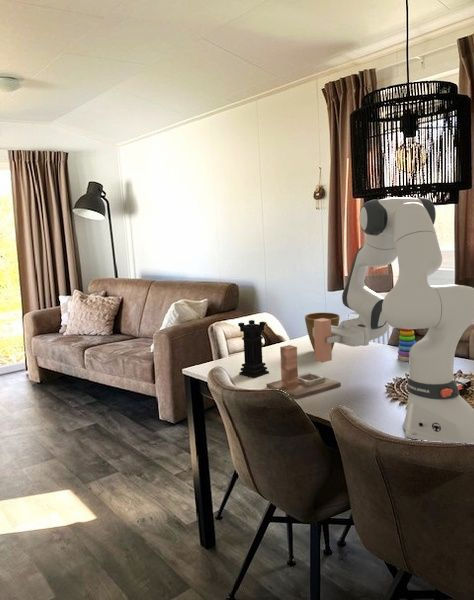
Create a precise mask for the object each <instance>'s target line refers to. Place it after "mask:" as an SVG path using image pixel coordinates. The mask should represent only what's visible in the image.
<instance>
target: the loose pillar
mask: <svg viewBox="0 0 474 600" xmlns="http://www.w3.org/2000/svg"><path fill="white" fill-rule="evenodd" d="M326 337H331V320H329V319H325V318H321V319H316V320H314V343H315V352H314V360H315V361H316V362H320V363H326V362H330V361H333V359H332V358H333V353H332V352H333V349H332V346H331V343H326V342H325V338H326Z"/></svg>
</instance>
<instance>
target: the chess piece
mask: <svg viewBox="0 0 474 600" xmlns="http://www.w3.org/2000/svg"><path fill="white" fill-rule="evenodd" d="M237 324H238V327H239V331H240V332H241V333H242V337H241V340H242V341H243V355H244V357H243V359H244V363H242V364H241V367H242V368H241V367H240V372H239V373H238V374H239V376H244V377H248V378H252V379H256V378H260V377H262V376H264V375H267V374H268V375H269V374H270V371H269V370H268V367H267V366H266V365H267V364H266V363H265V362H263V344H262V343H263V342H262V339H264V336H262V332H263V331H265V326H266V321H259V322H258V323H255V320H254V319H249V320H248V324H245V322H238V323H237Z"/></svg>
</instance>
